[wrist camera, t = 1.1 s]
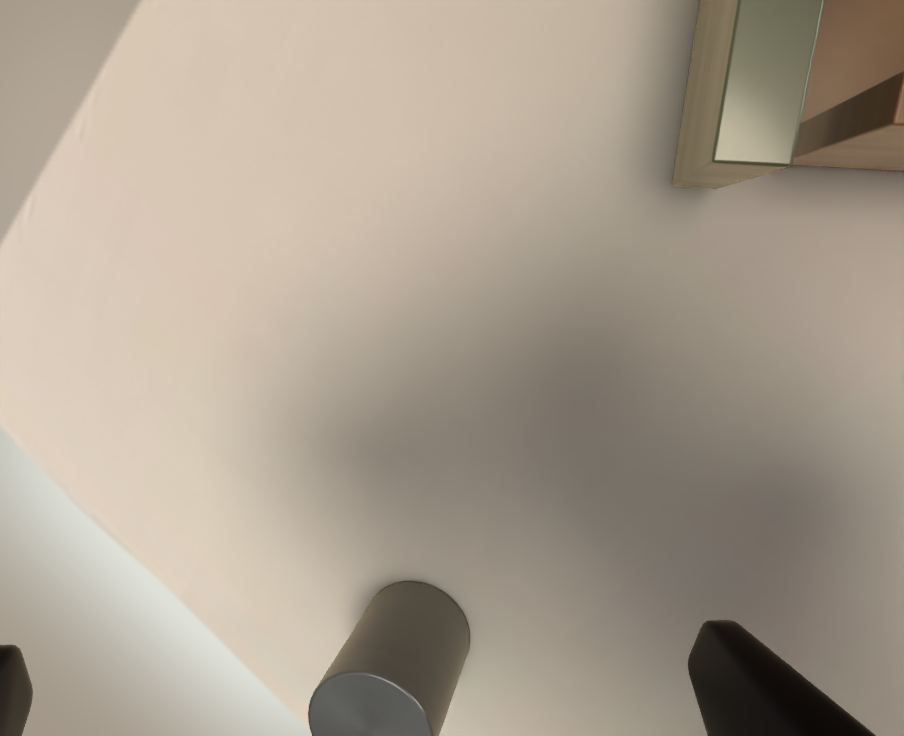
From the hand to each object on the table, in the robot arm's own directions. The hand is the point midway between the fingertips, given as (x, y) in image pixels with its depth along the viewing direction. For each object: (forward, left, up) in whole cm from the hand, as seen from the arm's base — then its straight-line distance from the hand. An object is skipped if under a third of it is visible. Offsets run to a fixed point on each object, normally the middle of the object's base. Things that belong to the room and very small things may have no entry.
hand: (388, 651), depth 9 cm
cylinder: (-9, +3, -13) cm, 16 cm away
